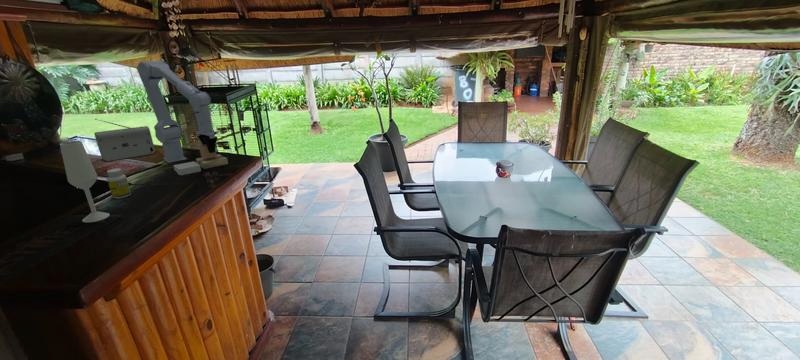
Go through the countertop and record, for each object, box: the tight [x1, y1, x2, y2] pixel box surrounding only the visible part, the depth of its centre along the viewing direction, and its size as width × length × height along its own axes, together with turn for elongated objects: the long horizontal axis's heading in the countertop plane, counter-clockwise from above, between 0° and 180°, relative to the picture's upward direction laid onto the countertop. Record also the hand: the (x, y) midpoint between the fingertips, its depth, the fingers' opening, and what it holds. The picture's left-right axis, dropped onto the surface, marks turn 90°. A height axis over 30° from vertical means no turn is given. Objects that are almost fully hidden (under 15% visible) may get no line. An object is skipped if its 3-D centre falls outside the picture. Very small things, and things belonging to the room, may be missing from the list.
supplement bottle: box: [106, 167, 132, 200], centre depth 124 cm, size 5×5×10 cm
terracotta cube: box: [198, 144, 218, 159], centre depth 158 cm, size 5×5×5 cm
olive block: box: [195, 153, 229, 170], centre depth 160 cm, size 10×10×3 cm
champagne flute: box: [59, 140, 110, 223], centre depth 106 cm, size 7×7×24 cm
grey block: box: [173, 161, 202, 176], centre depth 151 cm, size 8×8×3 cm
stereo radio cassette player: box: [94, 118, 156, 163], centre depth 167 cm, size 21×8×20 cm, turn 133°
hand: (210, 151), depth 158 cm, fingers closed on terracotta cube, 5 cm apart
